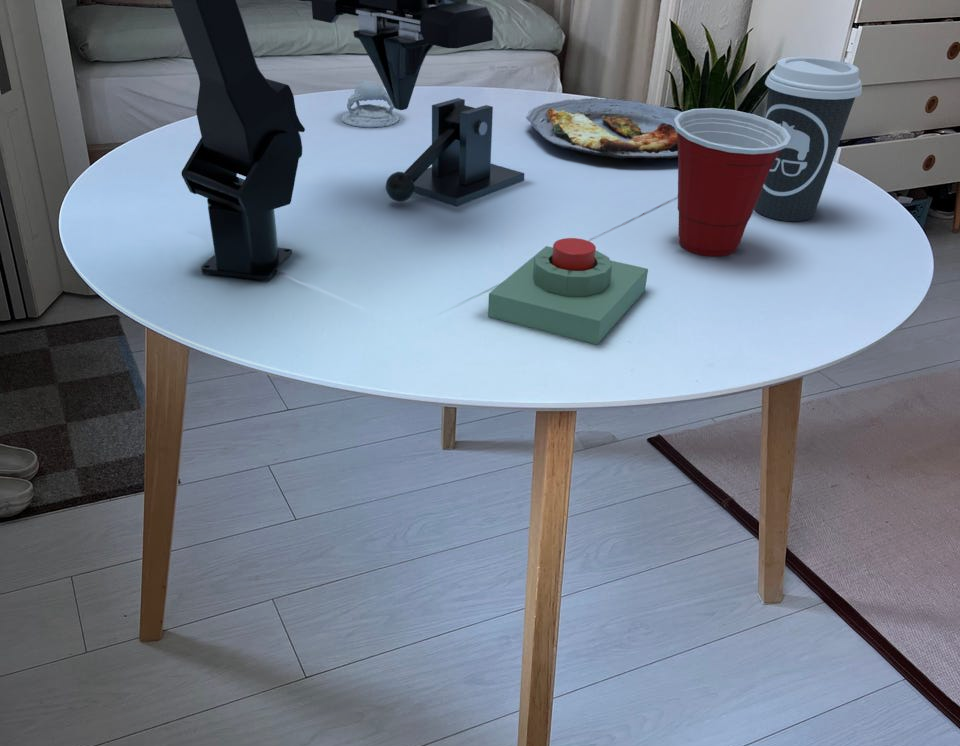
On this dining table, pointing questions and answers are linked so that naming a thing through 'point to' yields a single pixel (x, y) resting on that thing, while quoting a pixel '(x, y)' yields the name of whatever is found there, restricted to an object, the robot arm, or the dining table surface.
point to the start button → (573, 254)
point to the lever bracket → (464, 159)
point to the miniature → (369, 107)
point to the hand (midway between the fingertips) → (401, 109)
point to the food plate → (608, 127)
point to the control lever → (425, 158)
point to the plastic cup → (721, 175)
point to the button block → (568, 296)
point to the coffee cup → (805, 131)
